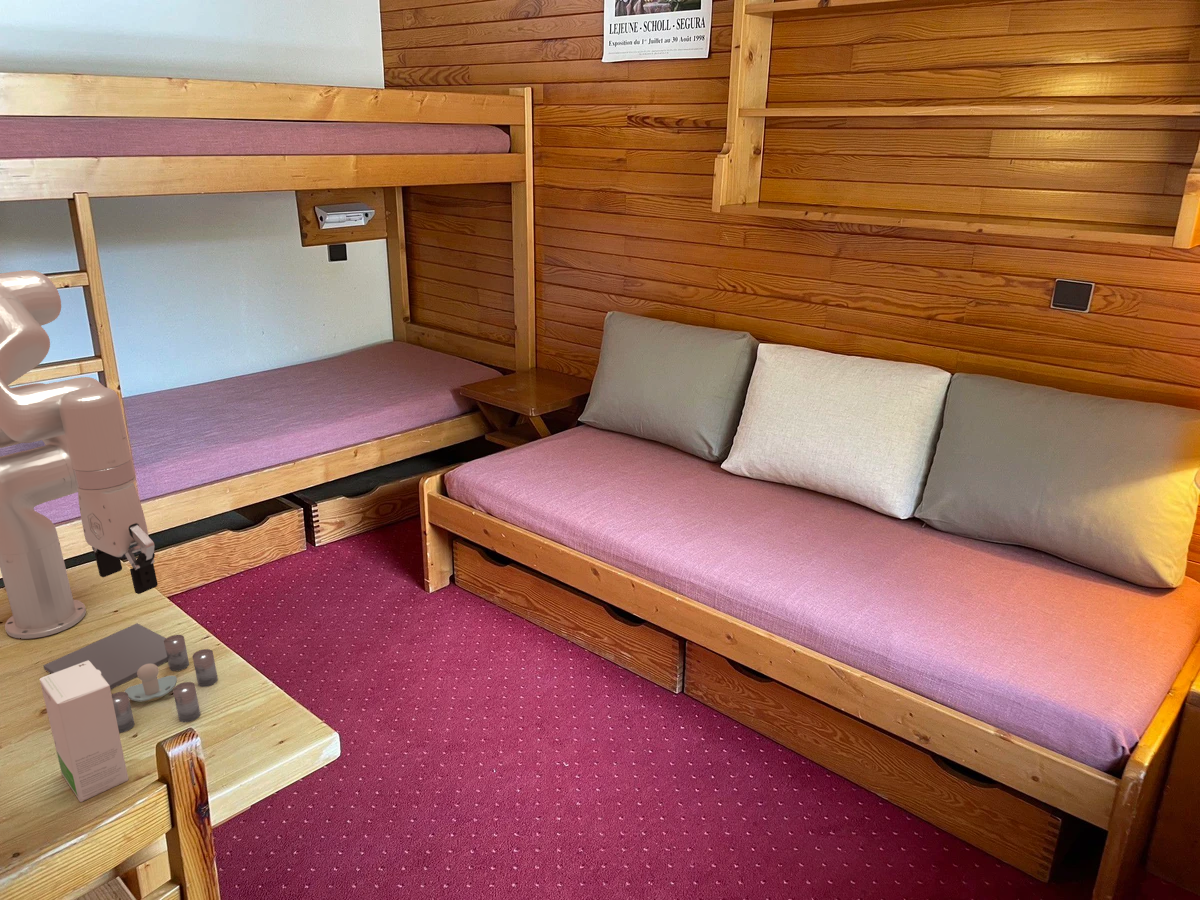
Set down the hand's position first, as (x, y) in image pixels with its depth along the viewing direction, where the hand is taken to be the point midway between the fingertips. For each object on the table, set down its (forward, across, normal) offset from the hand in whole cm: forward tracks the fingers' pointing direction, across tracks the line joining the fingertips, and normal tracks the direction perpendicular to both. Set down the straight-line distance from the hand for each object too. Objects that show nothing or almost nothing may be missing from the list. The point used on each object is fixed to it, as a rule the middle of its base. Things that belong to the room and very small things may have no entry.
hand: (128, 581), depth 136 cm
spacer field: (+20, +3, 0) cm, 20 cm away
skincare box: (+20, +12, -15) cm, 28 cm away
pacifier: (+20, 0, 0) cm, 20 cm away
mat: (+20, -15, +2) cm, 25 cm away
